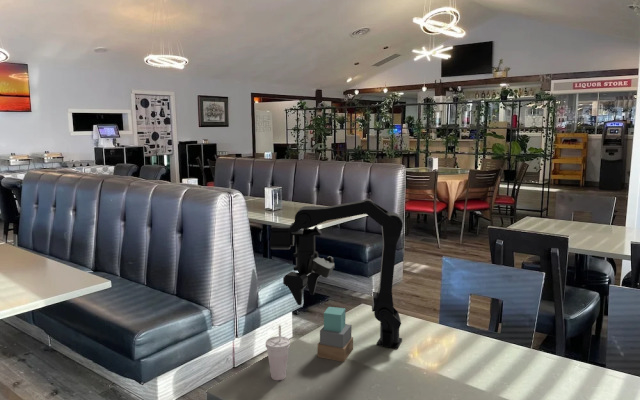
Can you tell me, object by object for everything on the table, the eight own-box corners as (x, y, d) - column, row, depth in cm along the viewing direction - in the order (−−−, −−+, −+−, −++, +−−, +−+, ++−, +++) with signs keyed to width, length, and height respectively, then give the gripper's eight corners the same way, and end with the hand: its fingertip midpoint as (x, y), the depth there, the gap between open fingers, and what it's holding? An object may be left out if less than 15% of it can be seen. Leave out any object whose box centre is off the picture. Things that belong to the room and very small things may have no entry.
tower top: (329, 334, 137) (329, 321, 137) (351, 338, 135) (351, 325, 134) (319, 344, 131) (319, 330, 130) (343, 348, 128) (343, 334, 128)
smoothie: (286, 384, 117) (286, 331, 115) (262, 381, 118) (261, 329, 116) (293, 371, 123) (292, 321, 121) (270, 369, 124) (269, 319, 122)
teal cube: (328, 322, 136) (328, 306, 135) (345, 324, 134) (345, 308, 133) (323, 329, 131) (323, 312, 130) (340, 332, 129) (340, 315, 129)
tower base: (327, 345, 139) (327, 333, 138) (353, 350, 136) (353, 337, 135) (317, 357, 131) (317, 344, 131) (344, 362, 128) (344, 349, 128)
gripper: (318, 260, 126) (318, 314, 128) (341, 244, 143) (341, 293, 145) (281, 256, 130) (282, 309, 132) (308, 241, 147) (309, 288, 149)
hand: (305, 299), depth 140 cm, fingers open, 9 cm apart
